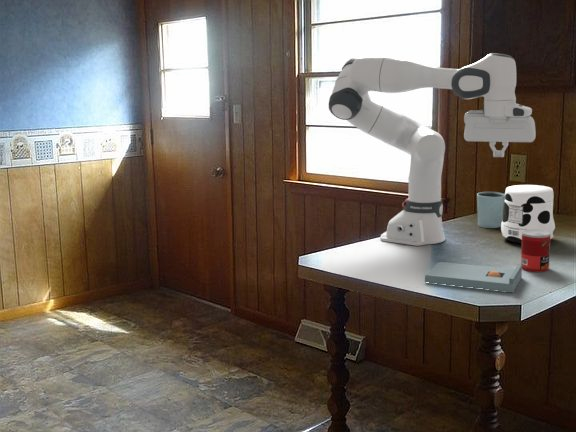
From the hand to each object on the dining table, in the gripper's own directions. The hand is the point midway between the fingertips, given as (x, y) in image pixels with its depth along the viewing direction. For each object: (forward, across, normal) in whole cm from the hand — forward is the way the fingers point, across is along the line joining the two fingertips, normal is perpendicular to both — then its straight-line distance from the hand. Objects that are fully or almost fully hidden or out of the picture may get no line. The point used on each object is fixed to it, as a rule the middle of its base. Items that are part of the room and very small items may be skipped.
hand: (498, 156), depth 204 cm
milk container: (+33, +4, +30) cm, 45 cm away
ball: (+31, +4, -20) cm, 37 cm away
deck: (+33, -2, -20) cm, 38 cm away
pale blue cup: (+33, -12, +48) cm, 59 cm away
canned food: (+33, +12, -2) cm, 35 cm away
